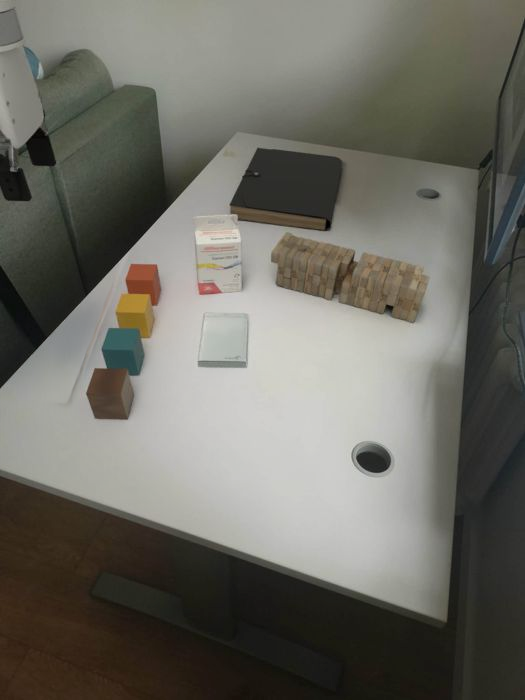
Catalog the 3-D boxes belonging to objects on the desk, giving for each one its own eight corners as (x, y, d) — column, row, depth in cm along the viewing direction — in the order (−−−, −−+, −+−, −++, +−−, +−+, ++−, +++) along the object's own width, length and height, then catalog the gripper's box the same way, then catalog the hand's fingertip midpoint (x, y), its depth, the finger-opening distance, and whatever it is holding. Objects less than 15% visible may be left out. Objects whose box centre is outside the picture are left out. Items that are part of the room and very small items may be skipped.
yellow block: (149, 338, 88) (144, 312, 84) (121, 337, 88) (115, 311, 84) (154, 319, 91) (149, 294, 87) (127, 318, 91) (121, 293, 87)
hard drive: (246, 361, 82) (248, 312, 91) (197, 360, 82) (203, 311, 91) (246, 368, 83) (248, 319, 92) (197, 367, 83) (204, 318, 92)
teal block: (108, 374, 81) (101, 349, 77) (115, 353, 85) (108, 327, 81) (138, 375, 81) (133, 350, 77) (144, 354, 85) (139, 328, 81)
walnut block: (94, 418, 75) (85, 393, 71) (102, 393, 79) (94, 367, 74) (127, 419, 75) (120, 394, 71) (134, 394, 79) (127, 368, 74)
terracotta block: (130, 305, 94) (125, 279, 90) (135, 288, 98) (130, 263, 93) (156, 305, 94) (152, 280, 90) (161, 289, 98) (157, 264, 93)
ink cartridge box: (199, 296, 97) (193, 229, 86) (197, 280, 100) (191, 215, 90) (242, 292, 98) (242, 226, 87) (239, 277, 101) (238, 212, 91)
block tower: (419, 303, 98) (282, 263, 105) (432, 268, 92) (286, 228, 99) (411, 327, 93) (268, 283, 100) (425, 292, 87) (271, 248, 93)
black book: (256, 146, 137) (343, 156, 135) (256, 160, 140) (341, 171, 138) (228, 203, 114) (332, 217, 112) (228, 219, 117) (329, 233, 115)
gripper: (-19, 10, 59) (27, 152, 71) (-95, 50, 46) (-25, 214, 58) (45, 12, 59) (79, 154, 71) (-15, 52, 46) (39, 216, 58)
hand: (32, 181), depth 65 cm, fingers open, 9 cm apart
